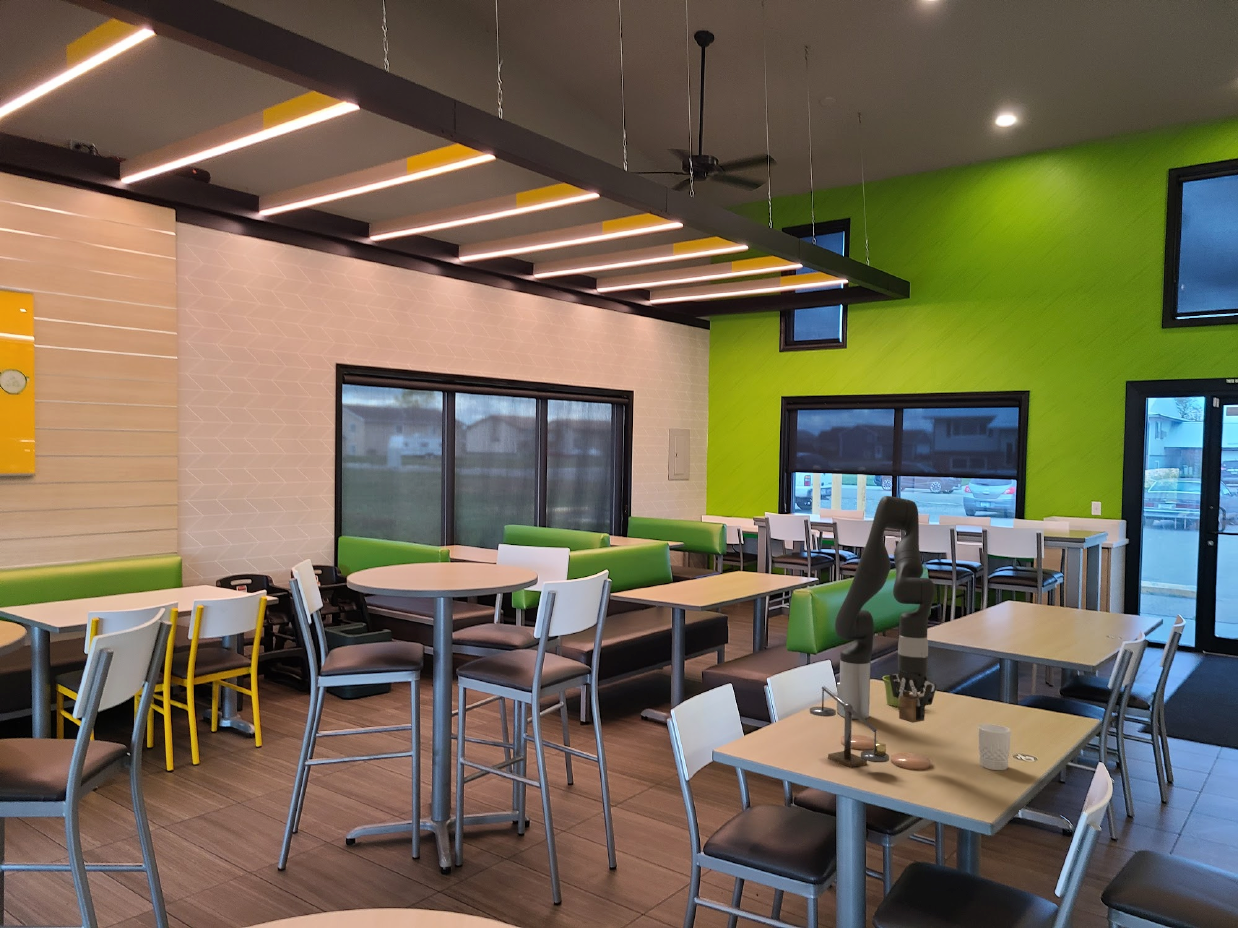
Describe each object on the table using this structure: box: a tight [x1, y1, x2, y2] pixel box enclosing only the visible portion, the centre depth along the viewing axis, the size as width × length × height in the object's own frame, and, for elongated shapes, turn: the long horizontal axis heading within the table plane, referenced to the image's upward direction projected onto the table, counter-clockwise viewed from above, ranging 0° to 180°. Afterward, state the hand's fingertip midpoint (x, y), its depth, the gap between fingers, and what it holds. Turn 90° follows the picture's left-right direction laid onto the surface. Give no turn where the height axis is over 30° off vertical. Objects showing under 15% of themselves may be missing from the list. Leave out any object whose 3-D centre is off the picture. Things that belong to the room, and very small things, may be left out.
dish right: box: [890, 752, 932, 771], centre depth 231 cm, size 10×10×1 cm
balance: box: [809, 685, 890, 768], centre depth 232 cm, size 26×7×18 cm, turn 31°
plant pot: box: [881, 675, 901, 708], centre depth 291 cm, size 9×9×9 cm
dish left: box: [840, 734, 879, 751], centre depth 247 cm, size 10×10×1 cm
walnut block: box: [898, 693, 925, 724], centre depth 231 cm, size 4×4×6 cm
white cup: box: [977, 723, 1012, 771], centre depth 230 cm, size 8×8×10 cm
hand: (911, 717), depth 231 cm, fingers closed on walnut block, 4 cm apart
